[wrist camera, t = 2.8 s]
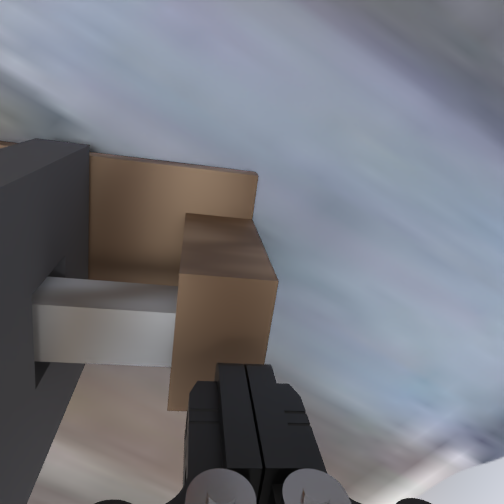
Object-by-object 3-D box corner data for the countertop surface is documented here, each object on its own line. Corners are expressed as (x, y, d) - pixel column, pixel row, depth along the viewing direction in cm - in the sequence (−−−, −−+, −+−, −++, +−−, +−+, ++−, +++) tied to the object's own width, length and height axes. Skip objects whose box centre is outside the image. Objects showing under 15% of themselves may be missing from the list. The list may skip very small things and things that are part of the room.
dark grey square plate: (89, 145, 17) (-46, 209, 8) (87, 358, 20) (-8, 585, 11) (35, 138, 16) (-174, 196, 7) (43, 356, 20) (-95, 588, 11)
